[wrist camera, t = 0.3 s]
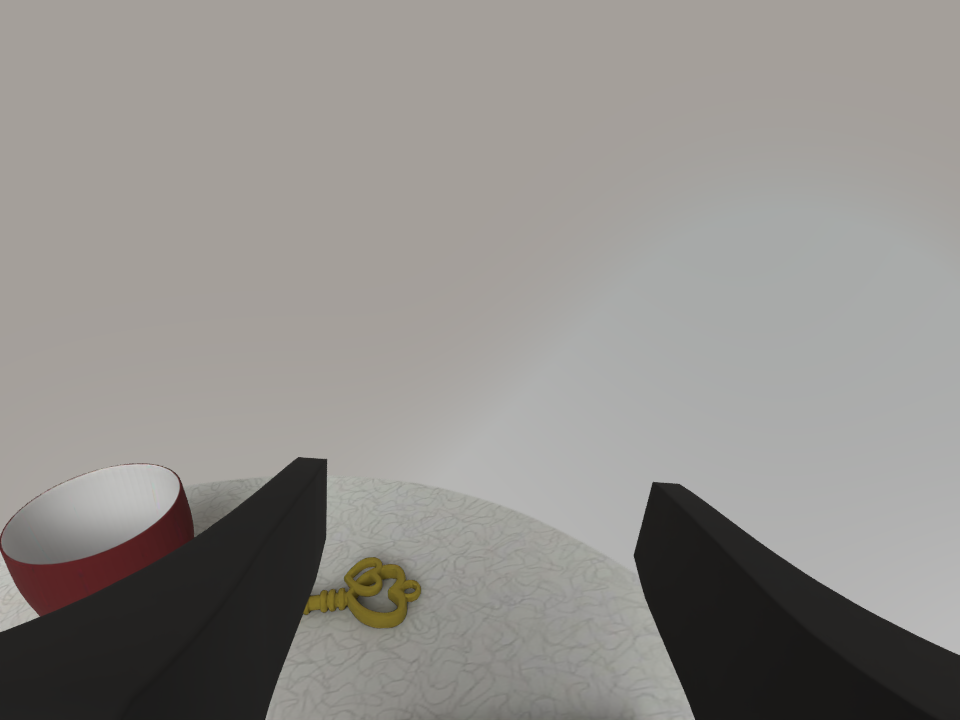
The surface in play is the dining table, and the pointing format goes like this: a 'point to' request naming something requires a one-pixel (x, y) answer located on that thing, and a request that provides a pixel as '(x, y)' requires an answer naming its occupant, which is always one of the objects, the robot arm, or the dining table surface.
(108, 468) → the mug
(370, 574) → the key
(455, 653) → the dining table surface
